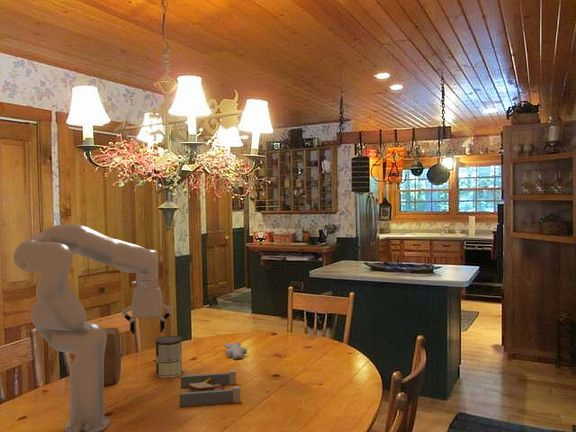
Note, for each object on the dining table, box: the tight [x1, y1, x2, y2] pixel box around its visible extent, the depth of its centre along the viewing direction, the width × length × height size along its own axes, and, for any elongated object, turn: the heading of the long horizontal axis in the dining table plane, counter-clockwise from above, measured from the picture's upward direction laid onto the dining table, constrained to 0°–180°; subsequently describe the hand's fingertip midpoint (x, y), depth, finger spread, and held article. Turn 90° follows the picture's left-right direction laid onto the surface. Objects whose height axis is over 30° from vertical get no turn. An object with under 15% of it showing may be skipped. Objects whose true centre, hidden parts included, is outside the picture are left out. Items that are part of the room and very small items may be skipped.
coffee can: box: [154, 335, 183, 379], centre depth 199 cm, size 10×10×14 cm
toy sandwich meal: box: [187, 378, 226, 392], centre depth 177 cm, size 12×14×5 cm
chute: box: [179, 369, 241, 407], centre depth 177 cm, size 19×20×5 cm
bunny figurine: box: [223, 341, 248, 360], centre depth 224 cm, size 10×5×15 cm
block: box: [103, 327, 122, 386], centre depth 191 cm, size 11×8×20 cm
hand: (147, 332), depth 177 cm, fingers open, 9 cm apart
